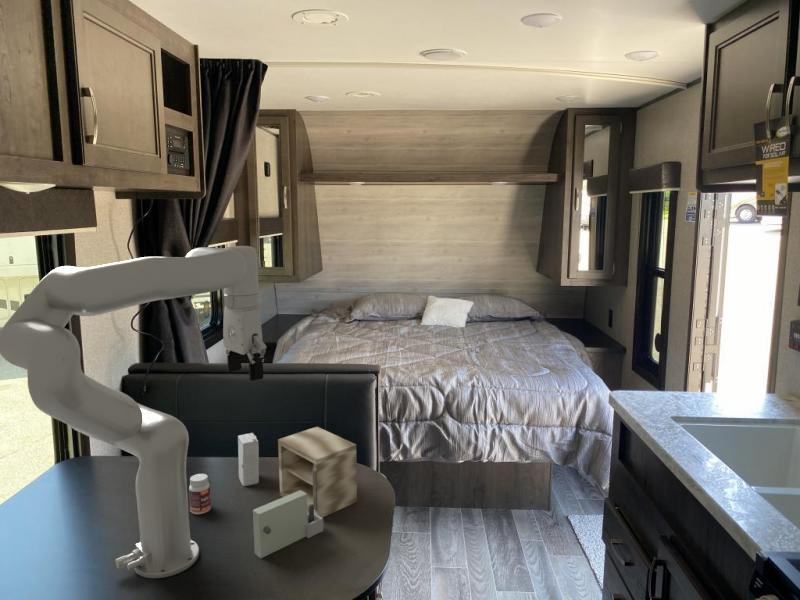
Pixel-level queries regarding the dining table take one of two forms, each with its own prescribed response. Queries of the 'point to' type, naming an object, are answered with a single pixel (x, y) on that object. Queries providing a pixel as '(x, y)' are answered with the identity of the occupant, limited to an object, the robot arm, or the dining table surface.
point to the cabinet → (318, 470)
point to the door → (283, 523)
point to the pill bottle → (199, 494)
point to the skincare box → (248, 459)
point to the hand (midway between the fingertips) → (245, 374)
